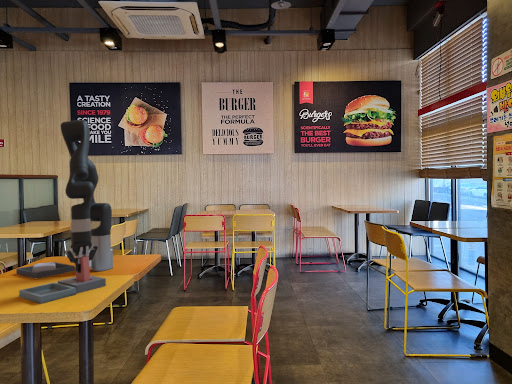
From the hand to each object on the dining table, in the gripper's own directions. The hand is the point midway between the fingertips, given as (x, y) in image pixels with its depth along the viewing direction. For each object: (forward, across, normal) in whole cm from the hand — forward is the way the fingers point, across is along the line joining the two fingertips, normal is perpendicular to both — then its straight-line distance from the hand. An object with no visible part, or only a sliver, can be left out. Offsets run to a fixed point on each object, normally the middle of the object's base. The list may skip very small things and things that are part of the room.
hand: (82, 271), depth 148 cm
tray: (+6, +14, 0) cm, 15 cm away
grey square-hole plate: (+6, 0, 0) cm, 6 cm away
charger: (+7, -6, -41) cm, 42 cm away
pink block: (+4, 0, 0) cm, 4 cm away
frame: (+6, -6, -41) cm, 42 cm away
